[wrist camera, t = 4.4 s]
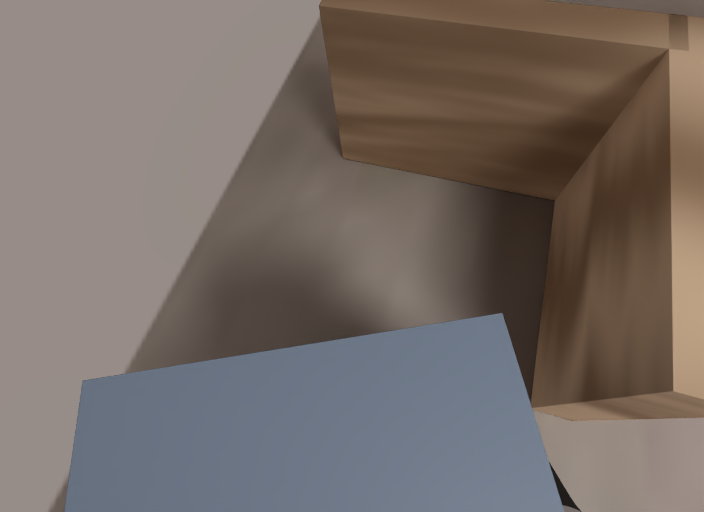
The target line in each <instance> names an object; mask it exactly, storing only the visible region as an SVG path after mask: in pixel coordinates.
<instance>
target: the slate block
mask: <svg viewBox="0 0 704 512" xmlns="http://www.w3.org/2000/svg"><path fill="white" fill-rule="evenodd" d="M64 512H564V509H563V506H562V503H561V499H560V496H559V493H558V490H557V487H556V483H555V480H554V477H553V474H552V471H551V467H550V464H549V461H548V458H547V455H546V451H545V448H544V445H543V442H542V439H541V435H540V432H539V429H538V426H537V423H536V419H535V416H534V413H533V410H532V407H531V403H530V400H529V397H528V394H527V390H526V387H525V384H524V381H523V378H522V374H521V371H520V368H519V365H518V362H517V358H516V355H515V352H514V349H513V346H512V342H511V339H510V336H509V333H508V330H507V326H506V323H505V320H504V317H503V314H502V313H499V314H493V315H487V316H481V317H474V318H468V319H462V320H456V321H450V322H443V323H437V324H431V325H425V326H419V327H412V328H406V329H400V330H394V331H388V332H381V333H375V334H369V335H363V336H357V337H350V338H344V339H338V340H332V341H325V342H319V343H313V344H307V345H301V346H294V347H288V348H282V349H276V350H270V351H263V352H257V353H251V354H245V355H239V356H232V357H226V358H220V359H214V360H208V361H201V362H195V363H189V364H183V365H177V366H170V367H164V368H158V369H152V370H146V371H139V372H133V373H127V374H121V375H115V376H108V377H102V378H96V379H90V380H84V381H83V382H82V389H81V396H80V403H79V410H78V417H77V424H76V431H75V438H74V445H73V452H72V459H71V467H70V474H69V481H68V488H67V495H66V502H65V509H64Z"/></svg>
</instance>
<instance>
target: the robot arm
mask: <svg viewBox="0 0 704 512" xmlns="http://www.w3.org/2000/svg"><path fill="white" fill-rule="evenodd" d="M549 464H550V463H549ZM550 467H551V471H552V474H553V477H554V480H555V483H556V487H557V490H558V493H559V496H560V499H561V503H562V506H563V509H564V512H581V511H580V509H579V508H578V507H577V506H576V505H575V503H574V502H573V500H572V499H571V497H570V496H569V494H568V492H567V491H566V489H565V487H564V486H563V484H562V482H561V481H560V479H559V477H558V476H557V474H556V473H555V471H554V469H553V468H552V466H551V464H550Z"/></svg>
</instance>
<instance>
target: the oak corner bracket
mask: <svg viewBox="0 0 704 512" xmlns="http://www.w3.org/2000/svg"><path fill="white" fill-rule="evenodd" d="M319 9H320V16H321V22H322V28H323V34H324V41H325V47H326V53H327V60H328V66H329V72H330V79H331V85H332V91H333V97H334V104H335V110H336V116H337V123H338V129H339V135H340V142H341V148H342V154H343V158H344V159H349V160H354V161H359V162H364V163H369V164H374V165H379V166H384V167H389V168H394V169H399V170H404V171H409V172H414V173H419V174H424V175H429V176H434V177H439V178H444V179H449V180H454V181H459V182H464V183H469V184H474V185H479V186H484V187H489V188H494V189H499V190H504V191H509V192H514V193H519V194H524V195H529V196H534V197H539V198H544V199H549V200H554V201H555V204H554V213H553V221H552V229H551V238H550V246H549V254H548V263H547V271H546V279H545V288H544V296H543V304H542V313H541V321H540V329H539V338H538V346H537V354H536V363H535V371H534V379H533V388H532V396H531V407H532V409H534V410H537V411H541V412H544V413H547V414H551V415H554V416H557V417H561V418H564V419H567V420H571V421H586V420H625V419H664V418H702V417H704V18H703V17H694V16H685V15H675V14H666V13H657V12H647V11H638V10H629V9H619V8H610V7H601V6H592V5H582V4H573V3H564V2H554V1H545V0H322V1H321V3H320V5H319Z"/></svg>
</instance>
